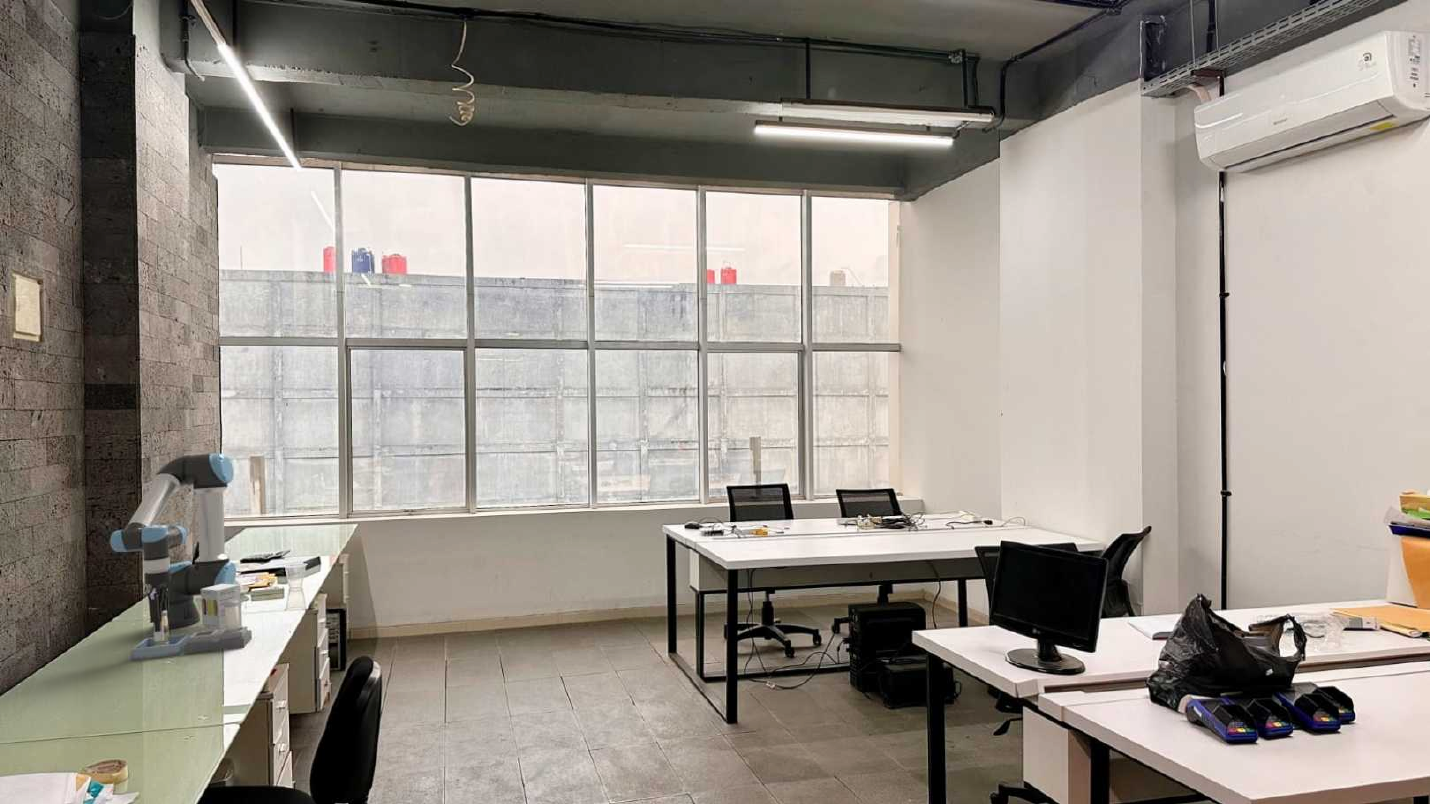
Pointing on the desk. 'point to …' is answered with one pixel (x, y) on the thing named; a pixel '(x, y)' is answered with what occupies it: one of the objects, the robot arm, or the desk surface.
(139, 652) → the parts tray
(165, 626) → the fuse
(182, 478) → the robot arm
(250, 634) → the fuse holder
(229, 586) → the supplement box
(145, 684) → the desk surface
